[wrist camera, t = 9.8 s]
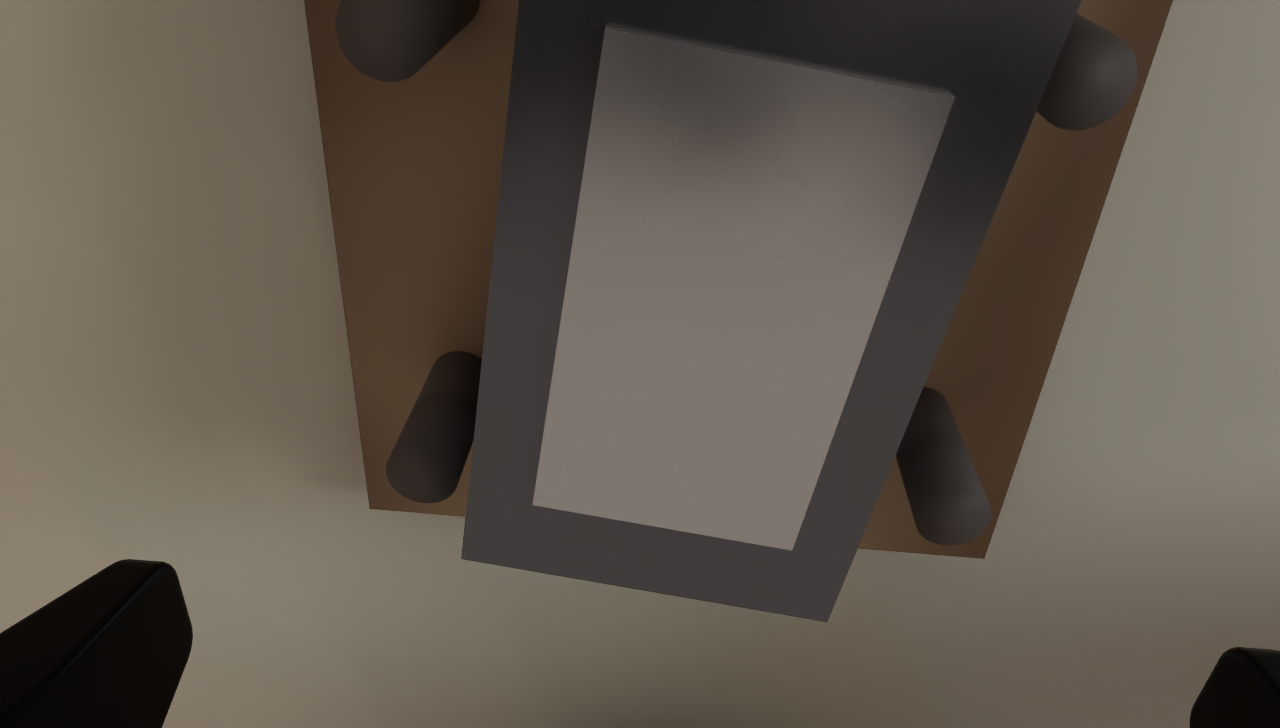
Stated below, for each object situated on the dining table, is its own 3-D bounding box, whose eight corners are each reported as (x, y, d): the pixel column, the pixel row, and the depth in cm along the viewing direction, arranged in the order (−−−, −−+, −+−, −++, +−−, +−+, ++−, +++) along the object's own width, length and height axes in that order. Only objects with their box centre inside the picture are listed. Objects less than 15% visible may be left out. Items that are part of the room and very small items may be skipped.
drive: (992, -73, 13) (1098, -26, 10) (803, 469, 18) (828, 629, 15) (577, -159, 13) (531, -143, 9) (506, 416, 18) (459, 565, 15)
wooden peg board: (1216, -236, 13) (1402, -249, 9) (972, 526, 20) (1027, 674, 17) (294, -293, 13) (151, -325, 10) (383, 479, 20) (319, 615, 17)
